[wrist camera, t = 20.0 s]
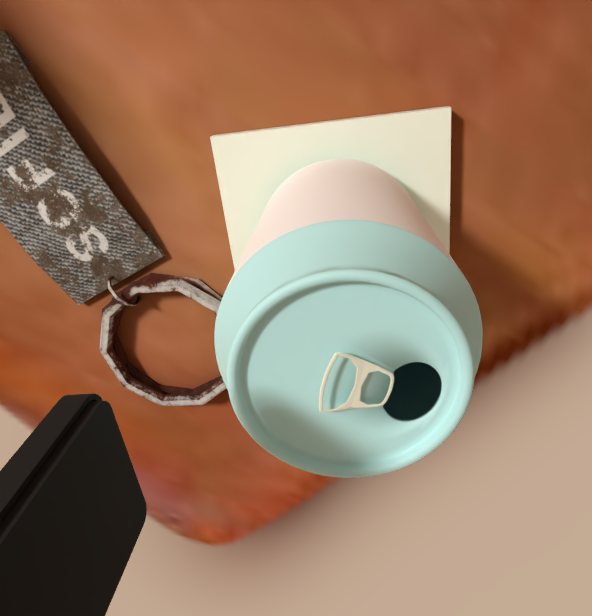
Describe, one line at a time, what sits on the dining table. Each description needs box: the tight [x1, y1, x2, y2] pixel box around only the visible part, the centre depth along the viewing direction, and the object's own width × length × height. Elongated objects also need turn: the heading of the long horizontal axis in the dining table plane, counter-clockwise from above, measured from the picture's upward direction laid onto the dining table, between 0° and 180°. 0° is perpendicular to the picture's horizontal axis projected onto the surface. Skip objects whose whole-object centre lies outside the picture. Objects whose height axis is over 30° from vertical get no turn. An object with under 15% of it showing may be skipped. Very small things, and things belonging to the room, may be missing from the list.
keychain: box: [0, 30, 227, 406], centre depth 24 cm, size 8×19×2 cm, turn 30°
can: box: [214, 159, 483, 478], centre depth 17 cm, size 7×7×12 cm
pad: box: [210, 106, 451, 270], centre depth 23 cm, size 10×10×1 cm
